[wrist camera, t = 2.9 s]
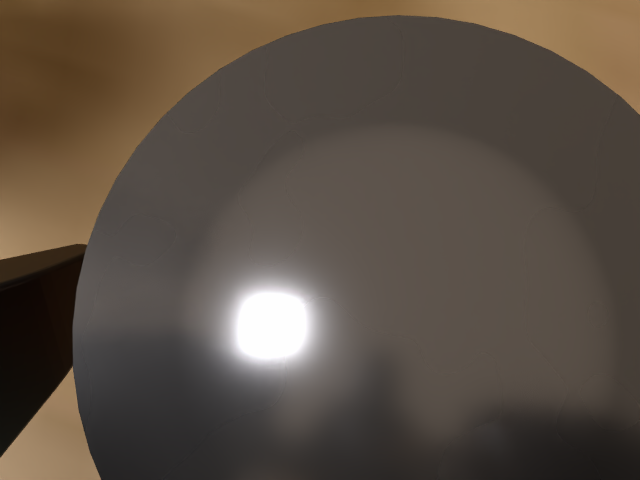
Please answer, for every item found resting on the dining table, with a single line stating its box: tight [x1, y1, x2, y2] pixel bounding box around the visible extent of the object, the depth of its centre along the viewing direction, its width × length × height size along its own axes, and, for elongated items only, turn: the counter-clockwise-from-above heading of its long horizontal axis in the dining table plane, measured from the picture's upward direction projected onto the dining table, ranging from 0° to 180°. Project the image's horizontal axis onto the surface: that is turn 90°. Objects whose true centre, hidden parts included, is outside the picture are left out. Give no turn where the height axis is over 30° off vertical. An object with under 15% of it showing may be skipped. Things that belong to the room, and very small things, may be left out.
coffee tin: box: [73, 15, 640, 480], centre depth 11 cm, size 5×5×12 cm
